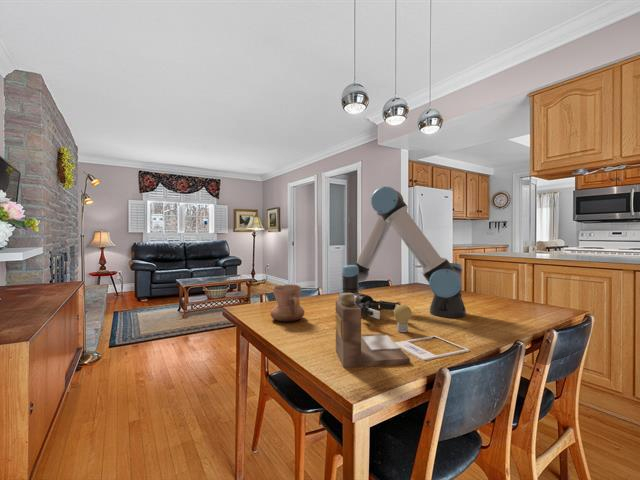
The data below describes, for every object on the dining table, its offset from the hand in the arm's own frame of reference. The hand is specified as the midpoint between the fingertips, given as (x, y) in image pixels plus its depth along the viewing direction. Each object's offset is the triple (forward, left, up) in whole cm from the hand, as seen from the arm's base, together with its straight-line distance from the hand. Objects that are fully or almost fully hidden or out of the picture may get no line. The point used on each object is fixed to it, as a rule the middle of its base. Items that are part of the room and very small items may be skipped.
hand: (393, 313), depth 120 cm
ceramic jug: (+40, -18, -6) cm, 44 cm away
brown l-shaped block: (+17, +21, -6) cm, 27 cm away
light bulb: (-2, +4, -6) cm, 8 cm away
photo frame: (-4, +21, -7) cm, 22 cm away
